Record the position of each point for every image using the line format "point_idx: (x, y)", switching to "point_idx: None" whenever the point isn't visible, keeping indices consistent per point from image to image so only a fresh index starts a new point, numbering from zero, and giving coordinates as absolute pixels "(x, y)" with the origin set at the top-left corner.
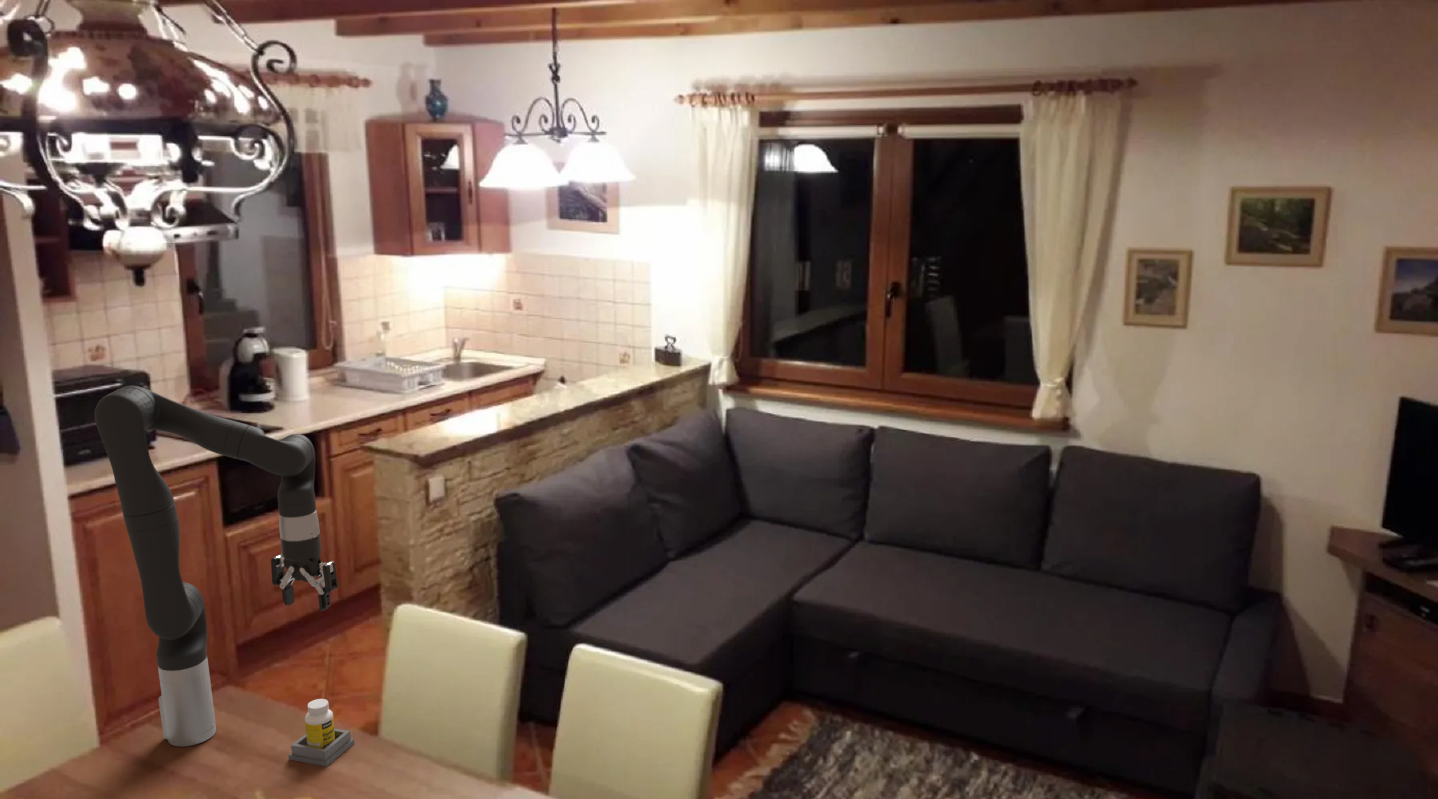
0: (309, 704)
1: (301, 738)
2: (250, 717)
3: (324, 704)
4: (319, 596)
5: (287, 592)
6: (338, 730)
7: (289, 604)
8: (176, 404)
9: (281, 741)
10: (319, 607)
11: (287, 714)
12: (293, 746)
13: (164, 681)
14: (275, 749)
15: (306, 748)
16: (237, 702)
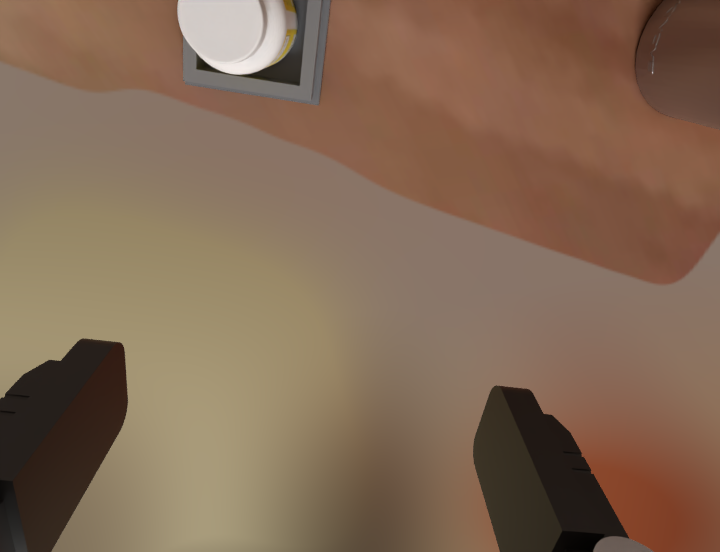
0: (250, 2)
1: (314, 7)
2: (563, 172)
3: (188, 15)
4: (6, 457)
5: (537, 504)
6: (222, 78)
7: (491, 403)
8: None
9: (413, 58)
10: (104, 358)
11: (465, 202)
12: None
13: None
14: (409, 9)
15: None
16: (630, 238)
